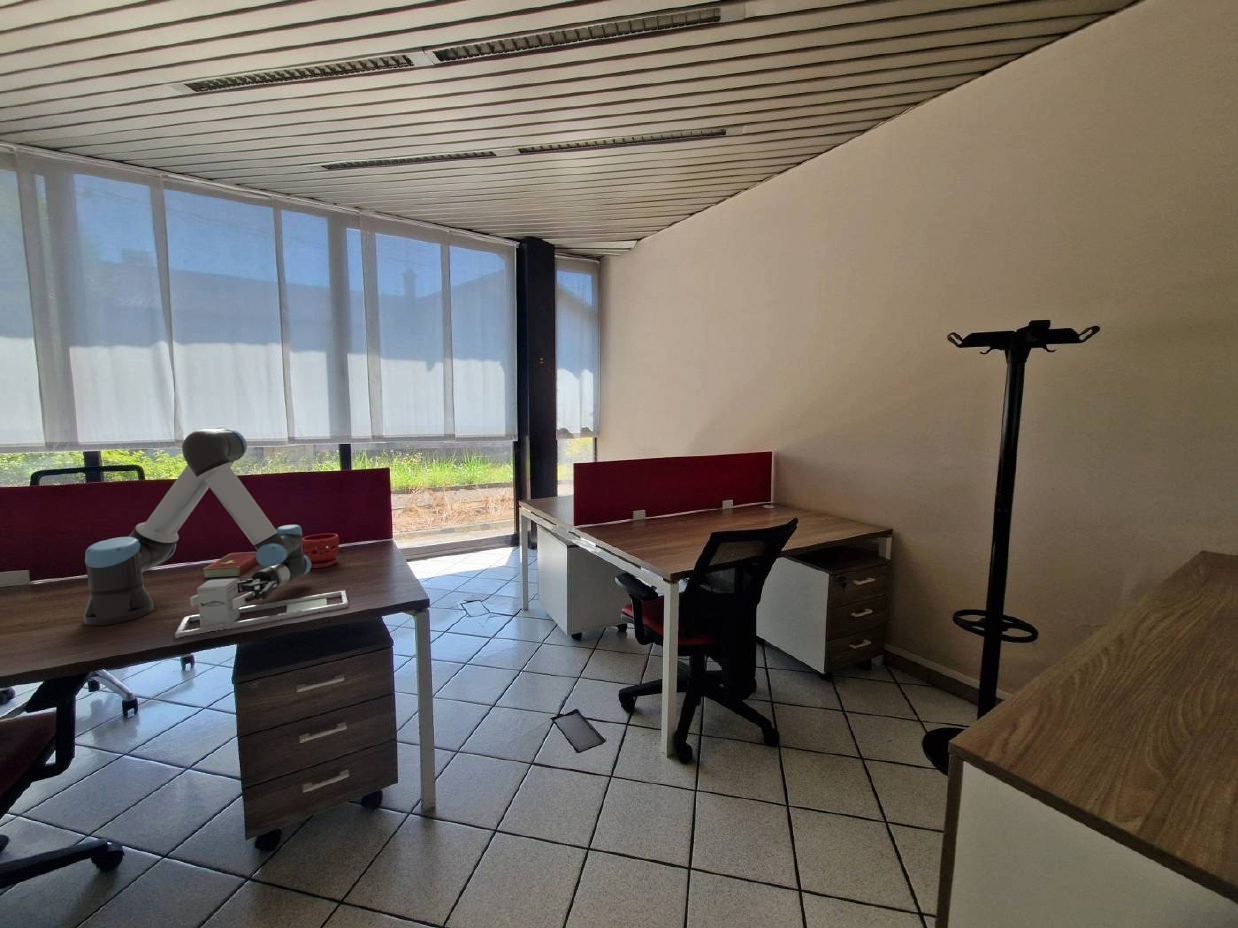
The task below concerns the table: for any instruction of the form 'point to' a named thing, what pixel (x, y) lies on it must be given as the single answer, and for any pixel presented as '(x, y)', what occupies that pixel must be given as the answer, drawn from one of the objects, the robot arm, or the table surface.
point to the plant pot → (321, 549)
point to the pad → (306, 605)
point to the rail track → (187, 619)
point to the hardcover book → (231, 565)
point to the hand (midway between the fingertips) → (212, 603)
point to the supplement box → (217, 602)
